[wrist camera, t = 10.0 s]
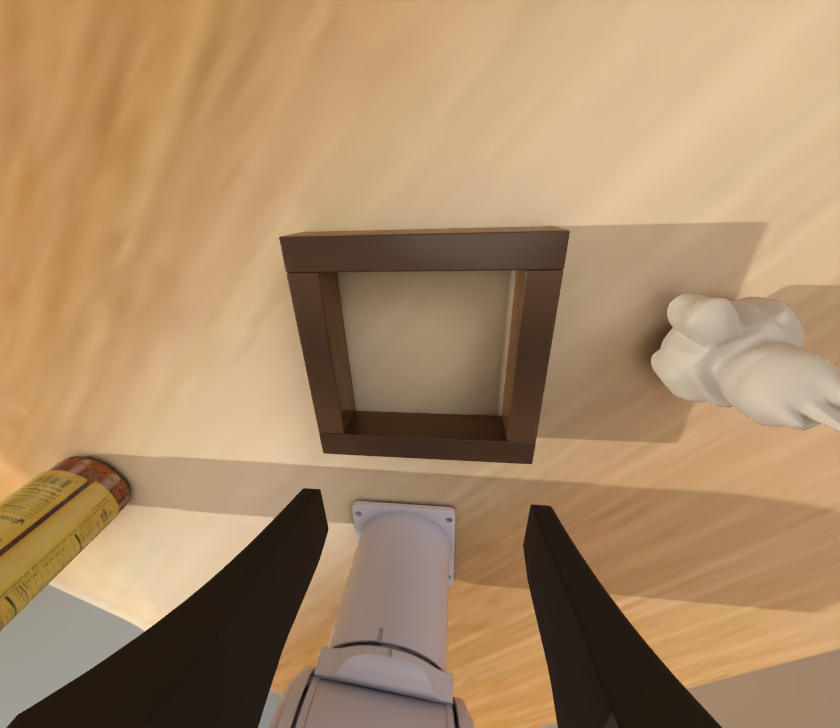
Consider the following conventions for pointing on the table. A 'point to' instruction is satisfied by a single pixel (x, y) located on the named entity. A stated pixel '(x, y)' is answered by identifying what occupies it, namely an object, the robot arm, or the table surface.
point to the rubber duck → (747, 361)
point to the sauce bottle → (53, 526)
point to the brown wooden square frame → (427, 251)
